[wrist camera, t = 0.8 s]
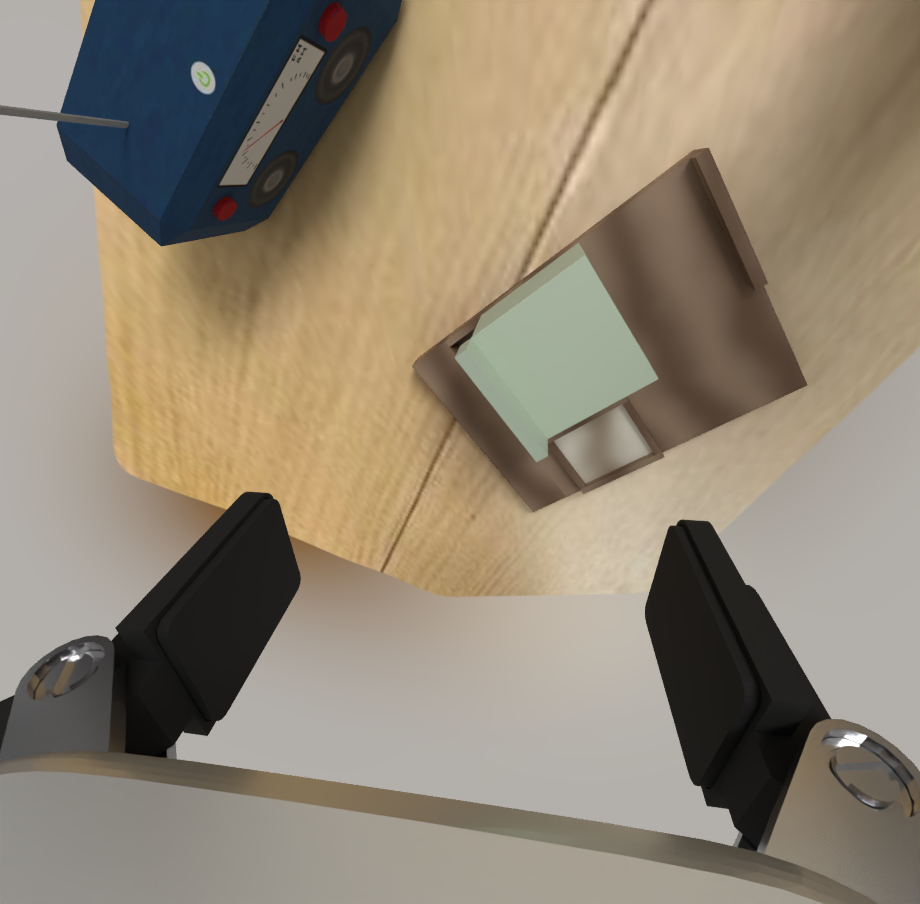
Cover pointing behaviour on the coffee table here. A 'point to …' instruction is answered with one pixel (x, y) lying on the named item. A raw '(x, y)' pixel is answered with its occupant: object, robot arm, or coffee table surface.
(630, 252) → the puzzle board
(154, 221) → the radio
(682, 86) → the coffee table surface
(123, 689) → the robot arm
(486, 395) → the cover
